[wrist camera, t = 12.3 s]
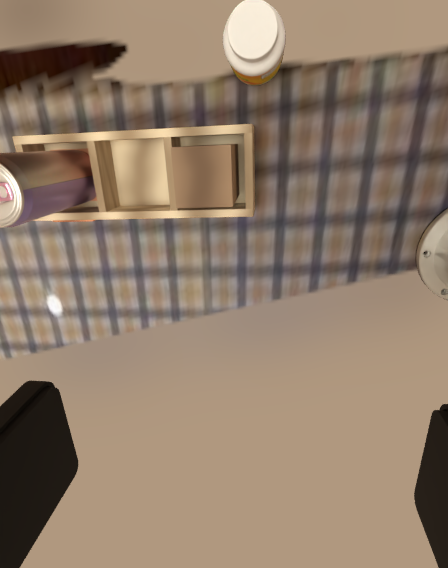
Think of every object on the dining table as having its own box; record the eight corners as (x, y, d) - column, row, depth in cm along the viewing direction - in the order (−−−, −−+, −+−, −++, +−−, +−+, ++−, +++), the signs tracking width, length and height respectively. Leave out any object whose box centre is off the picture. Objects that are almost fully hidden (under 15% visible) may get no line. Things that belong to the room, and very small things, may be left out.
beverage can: (109, 199, 43) (33, 227, 29) (64, 203, 43) (-31, 232, 30) (97, 147, 40) (9, 150, 27) (50, 152, 41) (-59, 158, 27)
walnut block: (237, 143, 39) (230, 144, 31) (239, 194, 41) (232, 206, 33) (189, 145, 39) (170, 147, 32) (192, 196, 41) (176, 208, 34)
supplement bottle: (219, 55, 36) (203, 27, 28) (259, 11, 35) (256, -34, 26) (253, 98, 38) (248, 85, 29) (293, 57, 36) (301, 30, 27)
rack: (254, 125, 39) (252, 123, 34) (255, 210, 42) (253, 219, 37) (40, 136, 42) (12, 136, 37) (58, 214, 45) (34, 223, 41)
